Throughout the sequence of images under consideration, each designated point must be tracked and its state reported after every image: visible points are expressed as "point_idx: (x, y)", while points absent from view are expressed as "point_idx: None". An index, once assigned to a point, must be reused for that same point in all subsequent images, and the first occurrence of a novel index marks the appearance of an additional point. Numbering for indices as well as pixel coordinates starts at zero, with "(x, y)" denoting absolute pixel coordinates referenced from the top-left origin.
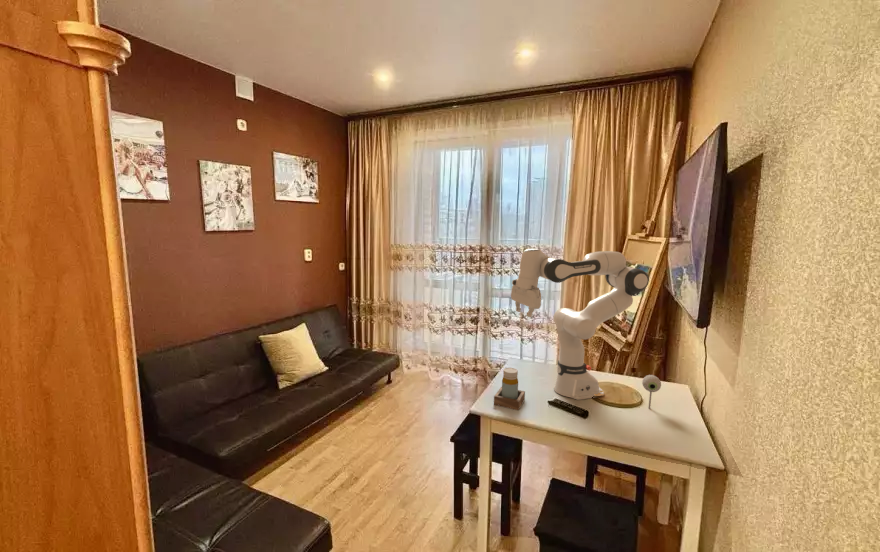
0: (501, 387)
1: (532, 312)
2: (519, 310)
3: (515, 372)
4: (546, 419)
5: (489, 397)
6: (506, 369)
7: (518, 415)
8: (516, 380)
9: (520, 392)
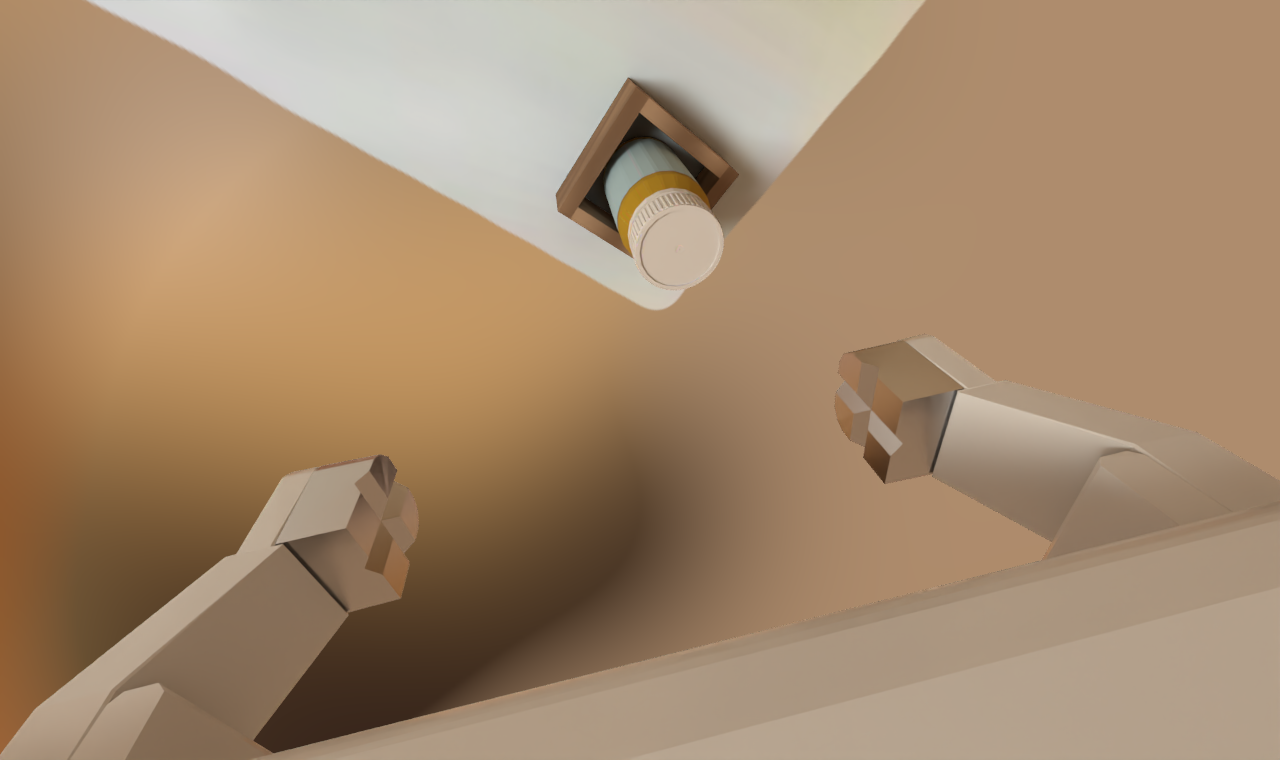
0: (568, 213)
1: (1039, 394)
2: (384, 500)
3: (721, 230)
4: (843, 46)
5: (579, 257)
6: (658, 269)
7: (763, 176)
8: (703, 199)
9: (634, 117)
